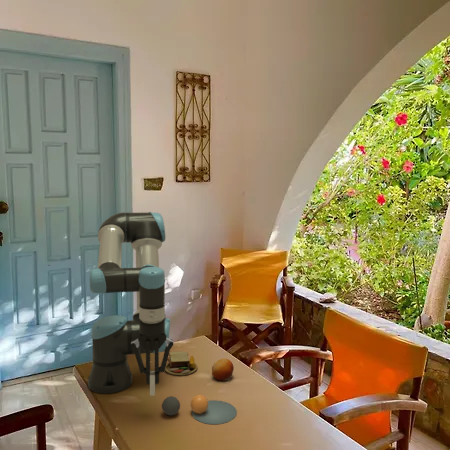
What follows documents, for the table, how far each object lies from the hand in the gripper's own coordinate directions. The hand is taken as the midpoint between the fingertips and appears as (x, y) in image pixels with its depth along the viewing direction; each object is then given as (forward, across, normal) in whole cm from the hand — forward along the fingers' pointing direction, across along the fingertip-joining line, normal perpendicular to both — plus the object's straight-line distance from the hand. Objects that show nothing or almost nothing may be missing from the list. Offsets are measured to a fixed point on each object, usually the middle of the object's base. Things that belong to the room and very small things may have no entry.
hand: (152, 393), depth 143 cm
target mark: (+7, +19, -1) cm, 20 cm away
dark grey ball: (+4, +6, -1) cm, 7 cm away
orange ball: (+4, +14, 0) cm, 15 cm away
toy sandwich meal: (+8, +9, +32) cm, 34 cm away
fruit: (+8, +25, +23) cm, 34 cm away
